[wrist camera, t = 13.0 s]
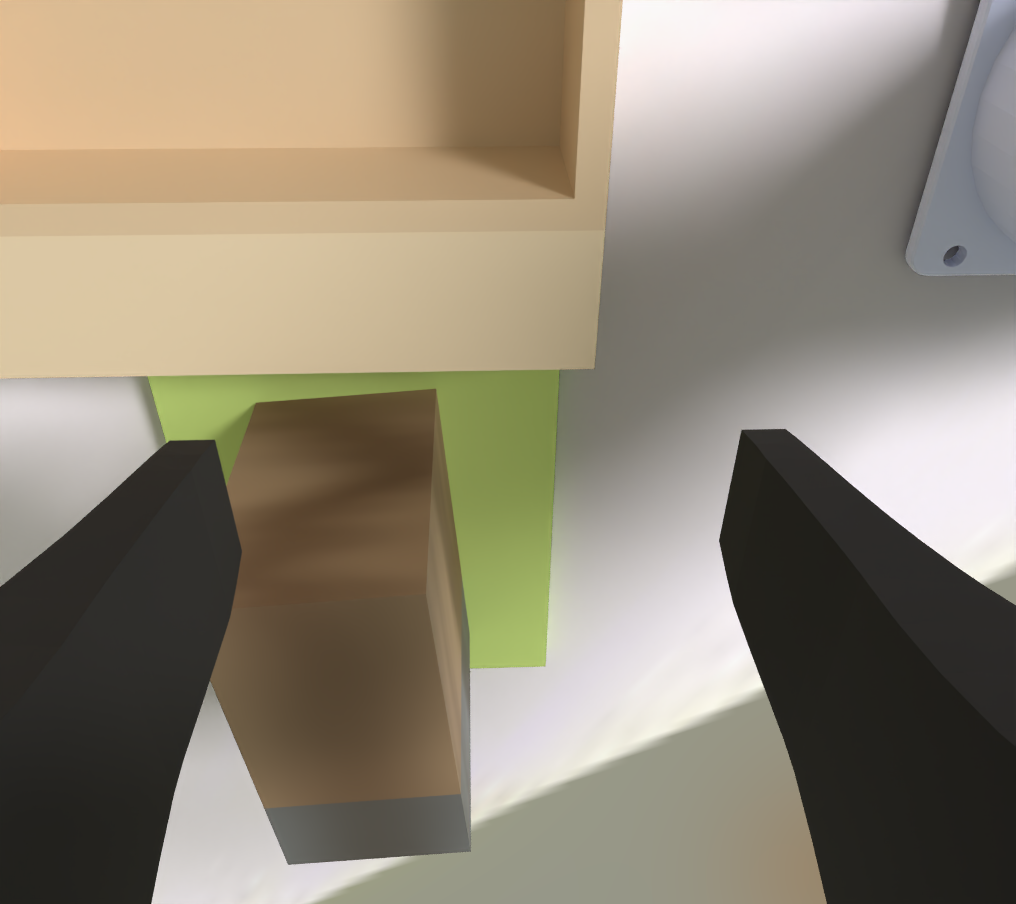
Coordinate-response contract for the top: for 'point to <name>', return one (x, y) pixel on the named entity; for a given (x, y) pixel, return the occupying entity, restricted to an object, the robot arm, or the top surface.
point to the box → (350, 629)
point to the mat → (471, 471)
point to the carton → (303, 185)
